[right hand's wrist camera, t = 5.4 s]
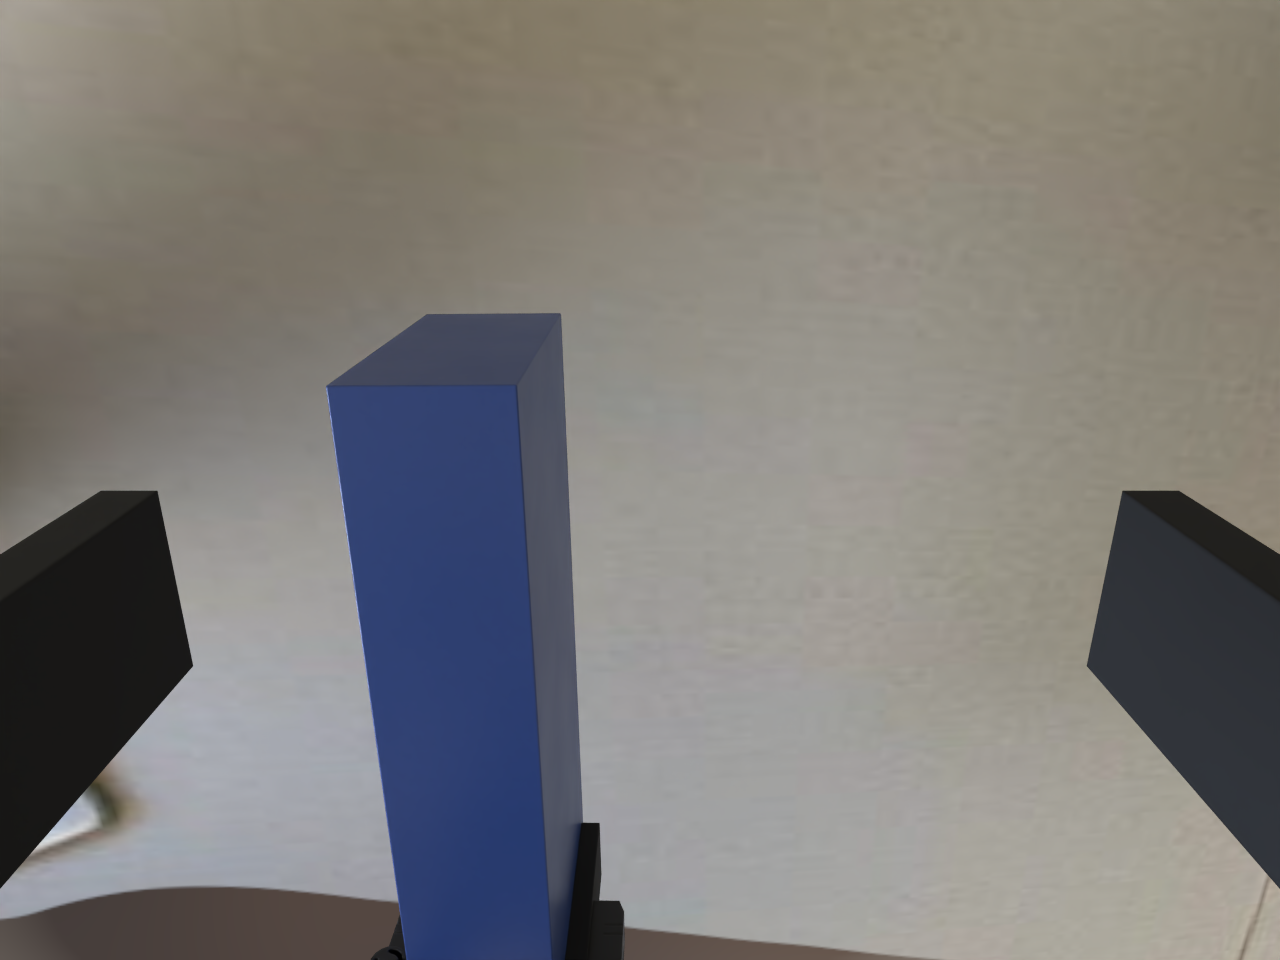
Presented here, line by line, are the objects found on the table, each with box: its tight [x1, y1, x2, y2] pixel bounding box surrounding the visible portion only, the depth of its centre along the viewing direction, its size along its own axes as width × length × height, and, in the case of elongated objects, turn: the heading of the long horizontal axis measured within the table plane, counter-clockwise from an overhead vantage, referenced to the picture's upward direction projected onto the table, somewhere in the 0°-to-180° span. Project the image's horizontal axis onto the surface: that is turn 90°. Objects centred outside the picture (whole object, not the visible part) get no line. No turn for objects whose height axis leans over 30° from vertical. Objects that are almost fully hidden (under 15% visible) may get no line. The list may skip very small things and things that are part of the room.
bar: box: [326, 313, 583, 960], centre depth 30 cm, size 26×4×9 cm, turn 1°
